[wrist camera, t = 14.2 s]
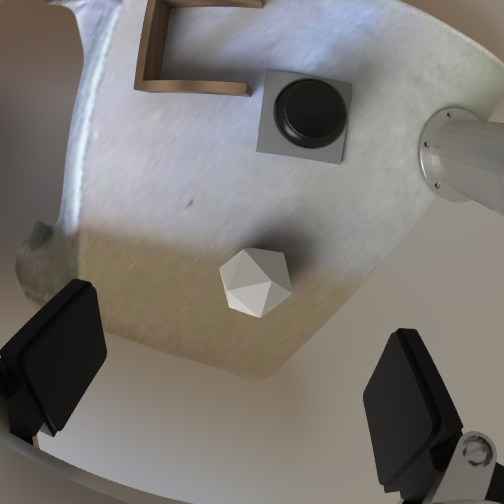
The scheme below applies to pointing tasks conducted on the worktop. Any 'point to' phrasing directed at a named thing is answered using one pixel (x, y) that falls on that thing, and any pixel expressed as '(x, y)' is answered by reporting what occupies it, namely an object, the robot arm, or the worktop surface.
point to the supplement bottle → (310, 113)
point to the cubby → (154, 47)
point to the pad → (271, 136)
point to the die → (256, 281)
